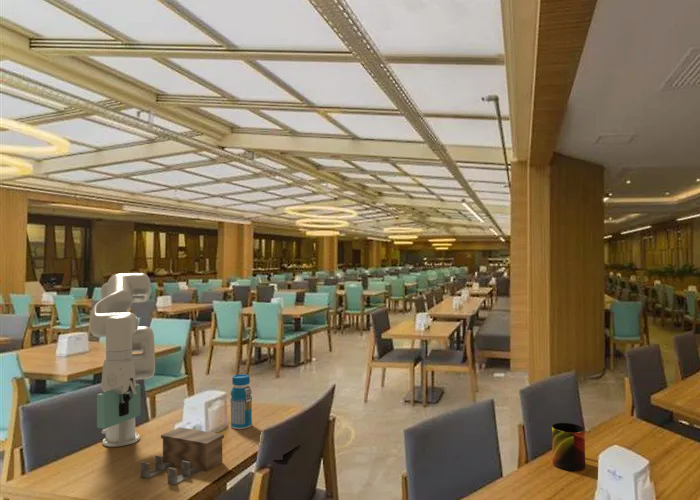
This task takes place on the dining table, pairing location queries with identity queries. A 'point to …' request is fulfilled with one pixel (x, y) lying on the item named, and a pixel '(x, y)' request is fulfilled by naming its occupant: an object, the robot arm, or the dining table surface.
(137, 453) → the dining table surface
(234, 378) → the beverage bottle
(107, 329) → the robot arm
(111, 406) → the green rectangular block
